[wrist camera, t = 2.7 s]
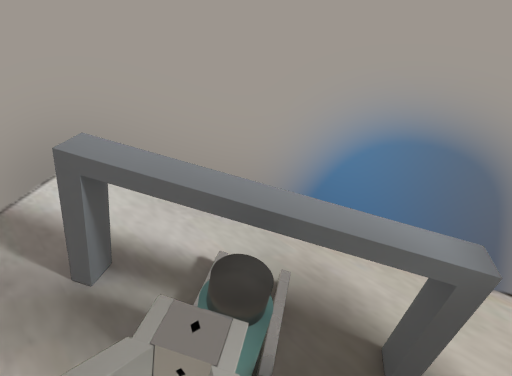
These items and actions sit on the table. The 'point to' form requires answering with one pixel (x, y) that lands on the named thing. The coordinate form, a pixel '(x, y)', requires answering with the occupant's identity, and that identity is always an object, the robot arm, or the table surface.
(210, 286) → the teal water bottle
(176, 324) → the robot arm
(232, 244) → the table surface
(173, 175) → the arch
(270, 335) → the guide rails
